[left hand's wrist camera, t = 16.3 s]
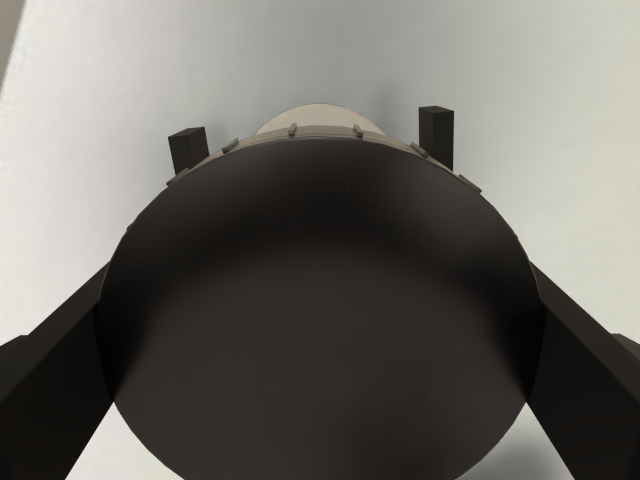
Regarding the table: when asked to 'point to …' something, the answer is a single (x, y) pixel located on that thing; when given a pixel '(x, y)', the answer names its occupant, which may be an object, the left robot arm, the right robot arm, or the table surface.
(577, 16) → the table surface
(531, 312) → the lid
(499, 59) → the table surface
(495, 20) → the table surface
